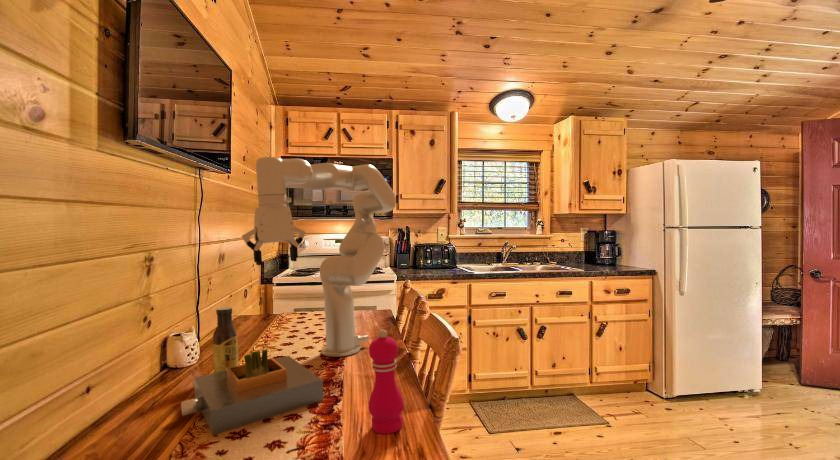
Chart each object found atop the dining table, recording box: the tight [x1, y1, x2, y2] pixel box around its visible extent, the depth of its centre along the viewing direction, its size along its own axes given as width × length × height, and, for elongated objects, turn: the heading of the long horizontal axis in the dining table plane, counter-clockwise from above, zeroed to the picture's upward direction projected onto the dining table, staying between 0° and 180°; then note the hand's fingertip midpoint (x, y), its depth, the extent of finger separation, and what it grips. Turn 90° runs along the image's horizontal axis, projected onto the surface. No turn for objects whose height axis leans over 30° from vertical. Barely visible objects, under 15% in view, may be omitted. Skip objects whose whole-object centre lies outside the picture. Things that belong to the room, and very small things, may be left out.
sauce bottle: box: [212, 306, 239, 373], centre depth 114 cm, size 6×6×20 cm
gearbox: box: [180, 355, 324, 436], centre depth 99 cm, size 28×24×8 cm
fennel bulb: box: [244, 348, 269, 378], centre depth 100 cm, size 6×5×12 cm
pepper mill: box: [368, 329, 405, 435], centre depth 83 cm, size 7×7×20 cm
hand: (276, 262), depth 115 cm, fingers open, 9 cm apart
